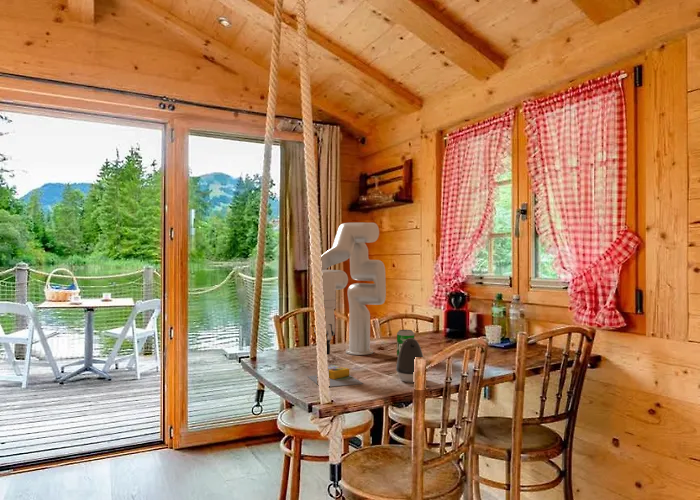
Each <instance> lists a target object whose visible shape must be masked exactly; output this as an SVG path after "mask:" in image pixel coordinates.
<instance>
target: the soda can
mask: <svg viewBox="0 0 700 500" xmlns="http://www.w3.org/2000/svg"><path fill="white" fill-rule="evenodd" d="M408 338H413V339H415V332H414V331H413V329H412V330H411V329H399V330H398V331H397V332H396V356H397V357H398V355H399V351H400V348H401V346H402V344H403V342H404V341H405V340H406V339H408Z"/></svg>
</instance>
